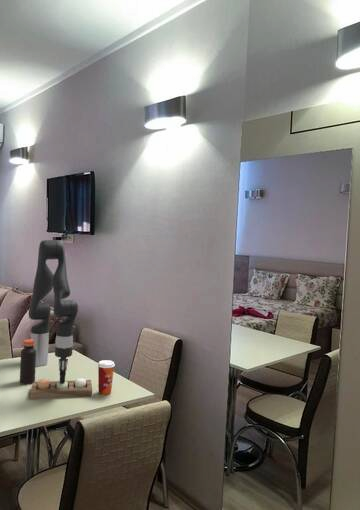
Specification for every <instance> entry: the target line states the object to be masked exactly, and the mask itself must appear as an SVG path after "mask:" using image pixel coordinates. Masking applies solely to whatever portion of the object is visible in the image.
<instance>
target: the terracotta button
mask: <svg viewBox="0 0 360 510" xmlns="http://www.w3.org/2000/svg"><path fill="white" fill-rule="evenodd" d="M49 381H50V380H49V379H47V378H42V379H38V381H37V382H38V389H49Z"/></svg>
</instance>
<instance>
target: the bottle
mask: <svg viewBox="0 0 360 510" xmlns="http://www.w3.org/2000/svg"><path fill="white" fill-rule="evenodd" d="M34 344H35V340H33V339H31V338H29V339H24V340H23V348H22V349H21V351H20V364H19V365H20V367H19V368H20V369H19V383H20V385H21V384H22V385H32V383H33V382H36V368H37V366H36V350H35V349H34Z"/></svg>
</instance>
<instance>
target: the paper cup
mask: <svg viewBox="0 0 360 510" xmlns="http://www.w3.org/2000/svg"><path fill="white" fill-rule="evenodd" d="M115 366H116V364H115V361H113V360H110V359H108V360H107V359H106V360H105V359H103V360H100V361H98V364H97V369H98V380H97V381H98V385H97V386H98V394H99V395H102V396H107V395H111V393H112V386H113V377H114V369H115Z"/></svg>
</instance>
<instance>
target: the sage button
mask: <svg viewBox="0 0 360 510" xmlns="http://www.w3.org/2000/svg"><path fill="white" fill-rule="evenodd" d="M58 381H59V382H57V387H56V389H58V388H68V382H66V381H67V380H65V383H64V384H60V380H58Z"/></svg>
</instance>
